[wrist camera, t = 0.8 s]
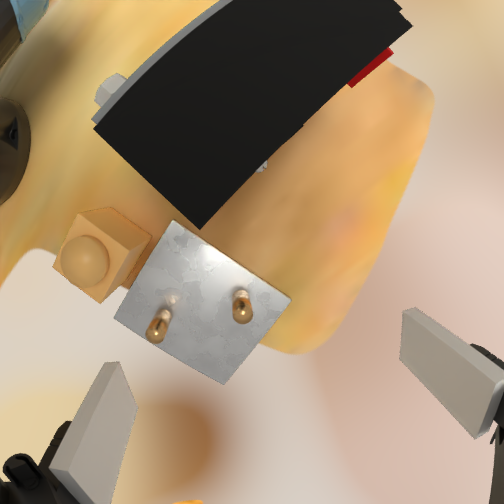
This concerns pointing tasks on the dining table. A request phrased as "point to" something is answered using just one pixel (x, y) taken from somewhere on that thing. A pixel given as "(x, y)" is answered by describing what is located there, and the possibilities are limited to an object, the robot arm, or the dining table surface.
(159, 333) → the amber glass cylinder
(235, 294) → the brass rounded peg
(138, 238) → the cube with dome knob
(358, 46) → the electrical component
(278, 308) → the plate
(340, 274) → the dining table surface
